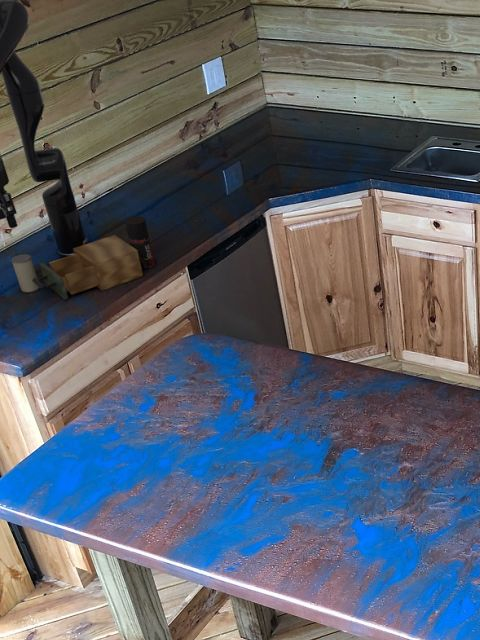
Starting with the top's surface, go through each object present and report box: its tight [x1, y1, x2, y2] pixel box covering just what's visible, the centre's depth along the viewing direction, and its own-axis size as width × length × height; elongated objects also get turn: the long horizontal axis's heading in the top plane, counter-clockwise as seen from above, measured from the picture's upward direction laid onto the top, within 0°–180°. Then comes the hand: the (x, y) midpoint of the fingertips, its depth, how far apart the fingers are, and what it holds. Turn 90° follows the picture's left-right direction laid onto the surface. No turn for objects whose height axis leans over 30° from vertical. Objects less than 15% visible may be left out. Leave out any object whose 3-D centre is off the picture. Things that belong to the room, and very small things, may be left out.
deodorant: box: [124, 216, 156, 270], centre depth 284 cm, size 6×6×15 cm
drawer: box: [32, 253, 99, 300], centre depth 273 cm, size 17×14×7 cm
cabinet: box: [73, 234, 144, 291], centre depth 281 cm, size 14×15×9 cm
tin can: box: [10, 253, 41, 294], centre depth 274 cm, size 6×6×10 cm
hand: (7, 222), depth 263 cm, fingers open, 8 cm apart
